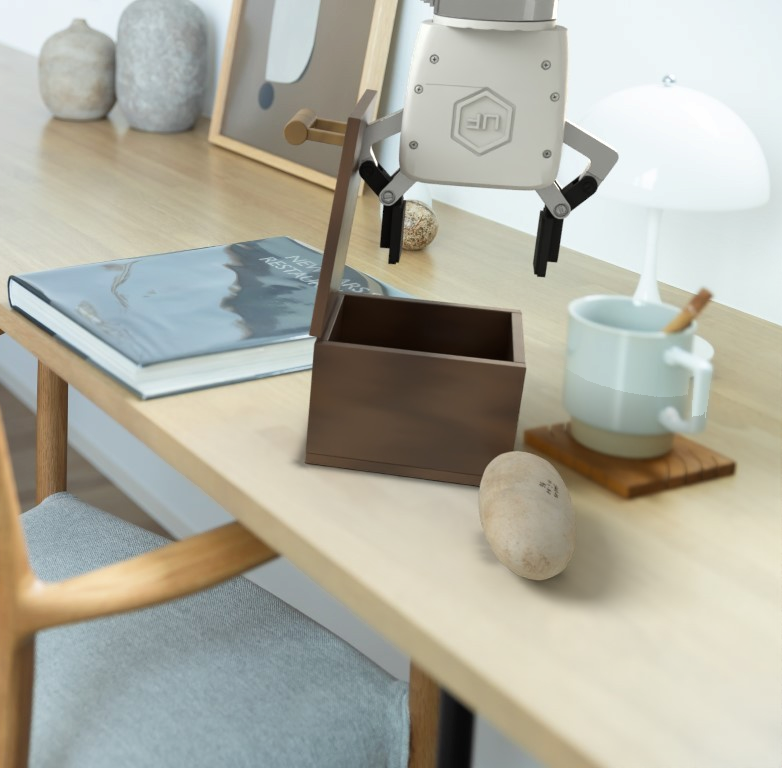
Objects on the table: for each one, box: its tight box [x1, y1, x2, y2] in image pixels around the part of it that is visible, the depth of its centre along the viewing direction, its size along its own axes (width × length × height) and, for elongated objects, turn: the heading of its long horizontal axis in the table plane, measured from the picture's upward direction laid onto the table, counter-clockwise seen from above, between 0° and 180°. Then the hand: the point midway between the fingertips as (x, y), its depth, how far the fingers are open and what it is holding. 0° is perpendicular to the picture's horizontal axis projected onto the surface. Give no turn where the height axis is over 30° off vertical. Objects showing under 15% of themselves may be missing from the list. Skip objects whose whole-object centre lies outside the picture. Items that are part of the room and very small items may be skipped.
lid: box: [282, 88, 378, 338], centre depth 79 cm, size 14×12×5 cm
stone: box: [478, 450, 577, 581], centre depth 70 cm, size 6×6×12 cm
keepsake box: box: [304, 290, 527, 487], centre depth 82 cm, size 14×12×9 cm
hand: (465, 265), depth 79 cm, fingers open, 9 cm apart
